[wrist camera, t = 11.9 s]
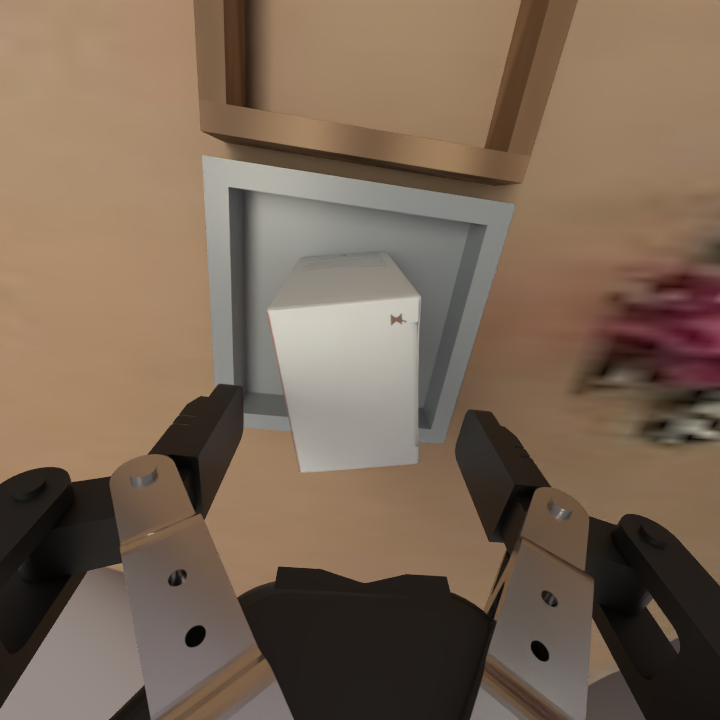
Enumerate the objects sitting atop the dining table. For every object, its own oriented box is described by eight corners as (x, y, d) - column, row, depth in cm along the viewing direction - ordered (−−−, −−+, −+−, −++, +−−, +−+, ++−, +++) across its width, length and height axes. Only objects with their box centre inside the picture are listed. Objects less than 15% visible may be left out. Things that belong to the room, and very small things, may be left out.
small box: (298, 256, 21) (261, 303, 12) (388, 249, 21) (423, 290, 12) (314, 369, 25) (296, 477, 15) (391, 363, 25) (421, 467, 15)
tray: (490, 203, 21) (515, 204, 18) (432, 416, 28) (443, 444, 25) (225, 162, 19) (201, 155, 16) (232, 398, 26) (216, 425, 23)
